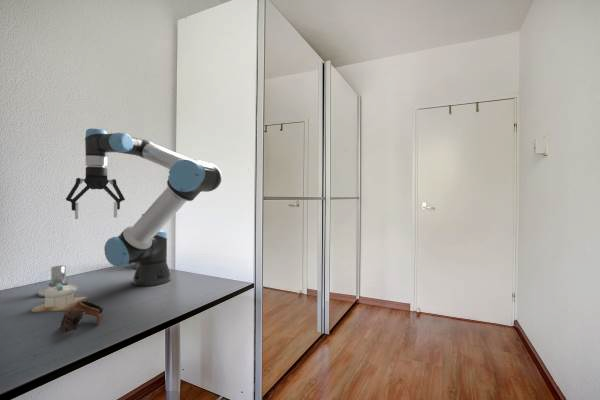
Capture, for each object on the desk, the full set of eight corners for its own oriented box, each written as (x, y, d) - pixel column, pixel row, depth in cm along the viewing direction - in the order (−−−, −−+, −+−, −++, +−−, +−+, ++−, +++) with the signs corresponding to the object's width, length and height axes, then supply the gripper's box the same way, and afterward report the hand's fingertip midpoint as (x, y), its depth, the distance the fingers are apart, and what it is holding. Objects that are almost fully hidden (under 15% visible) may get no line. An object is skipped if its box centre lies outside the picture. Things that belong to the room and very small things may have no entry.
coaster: (87, 298, 111) (87, 296, 111) (68, 310, 100) (68, 307, 100) (54, 300, 110) (54, 297, 110) (31, 311, 99) (31, 309, 99)
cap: (74, 303, 104) (74, 285, 104) (45, 308, 99) (45, 290, 99) (72, 297, 110) (72, 280, 110) (44, 302, 105) (44, 284, 105)
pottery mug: (64, 324, 91) (81, 297, 94) (95, 336, 92) (111, 309, 95) (44, 330, 80) (64, 300, 82) (79, 344, 81) (98, 314, 84)
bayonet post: (84, 286, 125) (83, 263, 125) (65, 296, 113) (65, 270, 113) (52, 287, 124) (52, 263, 123) (30, 297, 112) (30, 271, 111)
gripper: (128, 169, 136) (128, 216, 136) (57, 165, 119) (57, 218, 120) (132, 168, 131) (132, 217, 131) (58, 164, 114) (59, 220, 114)
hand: (96, 218), depth 125 cm, fingers open, 13 cm apart
